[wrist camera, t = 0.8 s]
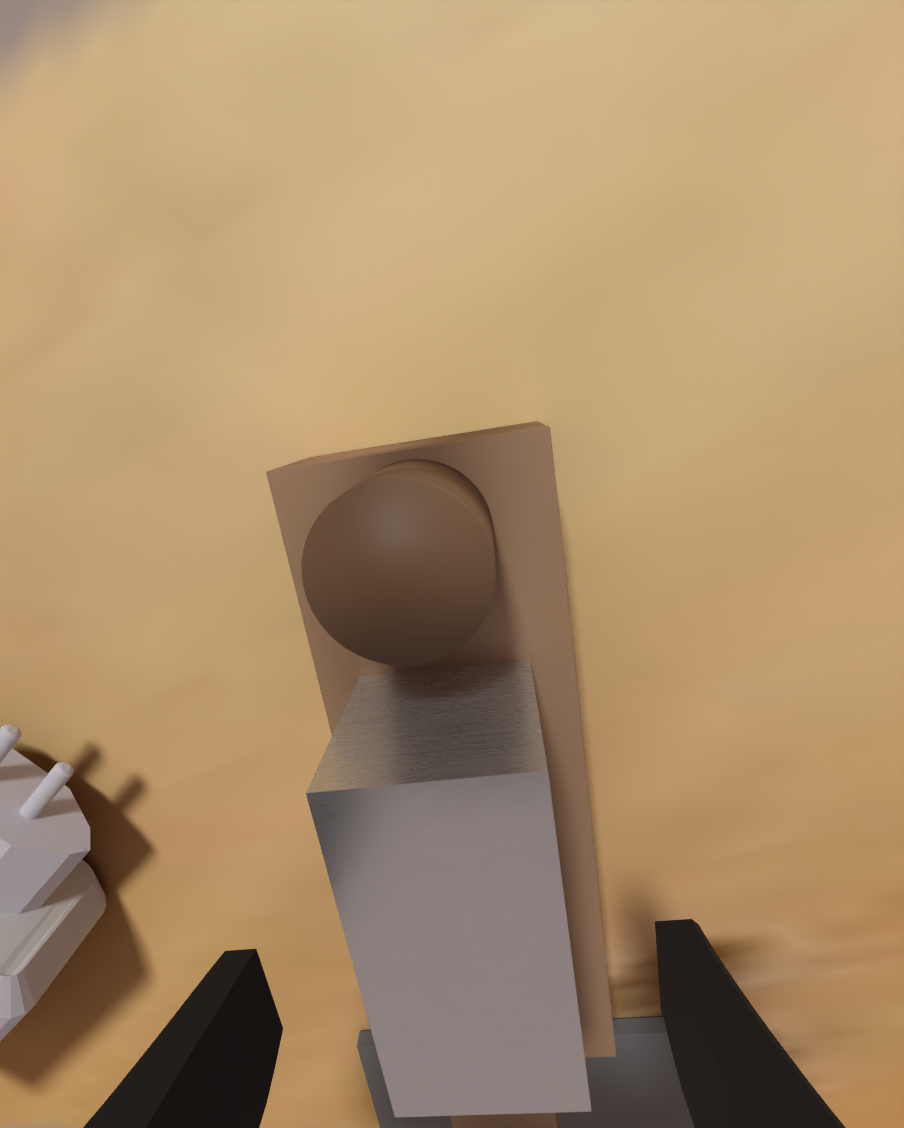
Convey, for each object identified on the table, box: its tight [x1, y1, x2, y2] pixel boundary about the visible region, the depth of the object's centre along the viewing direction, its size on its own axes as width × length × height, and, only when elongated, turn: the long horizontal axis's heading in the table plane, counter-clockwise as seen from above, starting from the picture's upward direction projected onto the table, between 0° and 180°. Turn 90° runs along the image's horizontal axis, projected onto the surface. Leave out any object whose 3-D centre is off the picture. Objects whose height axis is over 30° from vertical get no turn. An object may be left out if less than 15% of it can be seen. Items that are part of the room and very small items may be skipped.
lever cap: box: [306, 657, 591, 1117], centre depth 12 cm, size 4×8×4 cm, turn 9°
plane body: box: [266, 421, 616, 1128], centre depth 14 cm, size 6×18×6 cm, turn 9°
